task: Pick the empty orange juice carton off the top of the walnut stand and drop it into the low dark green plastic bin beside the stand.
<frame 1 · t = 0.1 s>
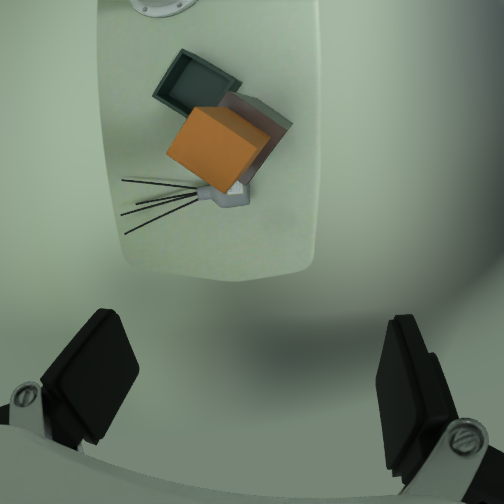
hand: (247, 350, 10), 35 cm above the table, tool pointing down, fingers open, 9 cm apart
reed diffuser: (189, 185, 45), on the table
stand: (261, 127, 40), on the table
juice carton: (236, 138, 25), point 17 cm above the table, touching stand
bin: (202, 89, 39), on the table
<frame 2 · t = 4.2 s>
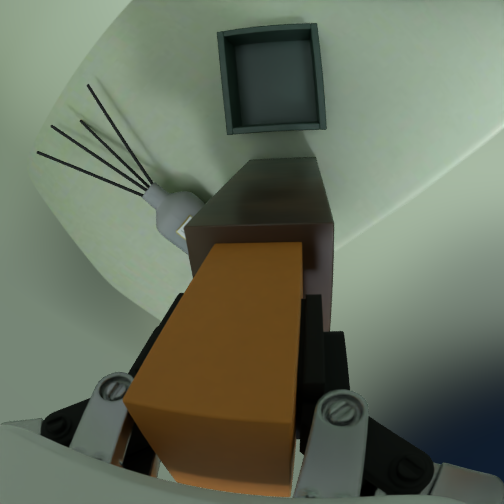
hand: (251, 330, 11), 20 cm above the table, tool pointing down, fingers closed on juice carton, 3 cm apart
reed diffuser: (149, 161, 29), on the table
stand: (284, 190, 28), on the table
juice carton: (261, 290, 13), point 17 cm above the table, touching gripper, stand
bin: (276, 82, 24), on the table
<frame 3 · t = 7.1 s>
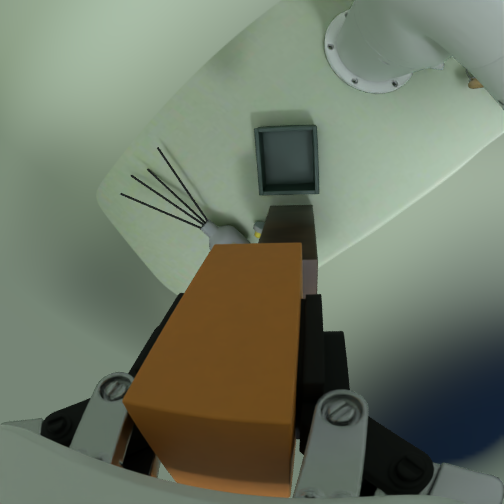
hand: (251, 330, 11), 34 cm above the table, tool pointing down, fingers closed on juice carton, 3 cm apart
reed diffuser: (201, 202, 46), on the table
stand: (292, 225, 45), on the table
juice carton: (261, 291, 13), point 31 cm above the table, touching gripper
bin: (288, 156, 41), on the table
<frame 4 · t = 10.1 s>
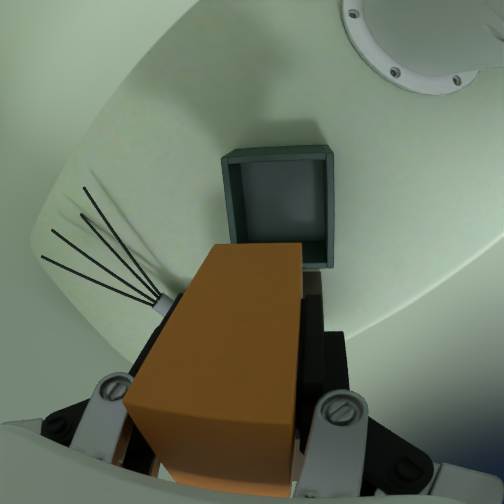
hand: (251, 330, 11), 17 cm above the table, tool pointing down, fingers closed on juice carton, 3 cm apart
reed diffuser: (155, 263, 31), on the table
stand: (288, 299, 30), on the table
juice carton: (261, 291, 13), point 14 cm above the table, touching gripper
bin: (284, 197, 26), on the table
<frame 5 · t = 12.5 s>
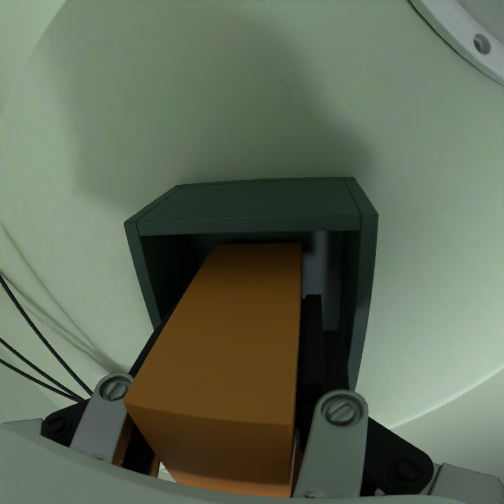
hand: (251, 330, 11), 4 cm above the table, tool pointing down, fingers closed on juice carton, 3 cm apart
reed diffuser: (88, 343, 19), on the table
stand: (277, 404, 19), on the table
juice carton: (261, 291, 13), point 1 cm above the table, touching gripper
bin: (268, 271, 14), on the table
when the fingers open (4 cm above the table, at t = 16.4 s): juice carton drops 1 cm, resting on bin.
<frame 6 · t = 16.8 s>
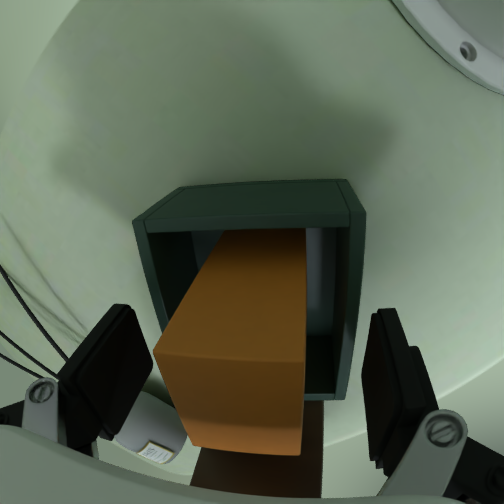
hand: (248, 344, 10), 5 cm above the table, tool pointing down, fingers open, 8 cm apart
reed diffuser: (91, 340, 20), on the table
stand: (275, 399, 19), on the table
juice carton: (268, 271, 15), resting on bin
bin: (266, 268, 15), on the table
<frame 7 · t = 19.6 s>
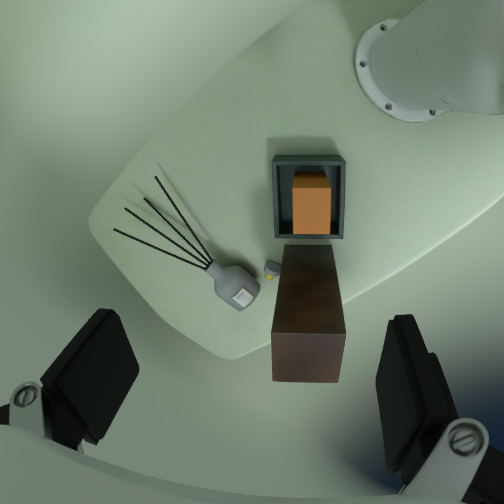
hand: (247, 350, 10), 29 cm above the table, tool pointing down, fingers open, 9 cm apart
reed diffuser: (205, 237, 41), on the table
stand: (307, 266, 40), on the table
juice carton: (309, 190, 35), resting on bin
bin: (308, 190, 36), on the table
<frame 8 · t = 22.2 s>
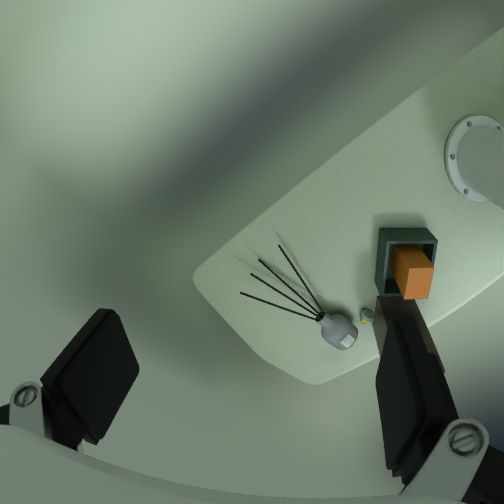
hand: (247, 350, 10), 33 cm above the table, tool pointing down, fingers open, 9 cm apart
reed diffuser: (312, 292, 47), on the table
stand: (392, 310, 47), on the table
juice carton: (402, 255, 42), resting on bin
bin: (400, 254, 42), on the table
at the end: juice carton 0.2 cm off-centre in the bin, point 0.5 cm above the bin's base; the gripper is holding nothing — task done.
